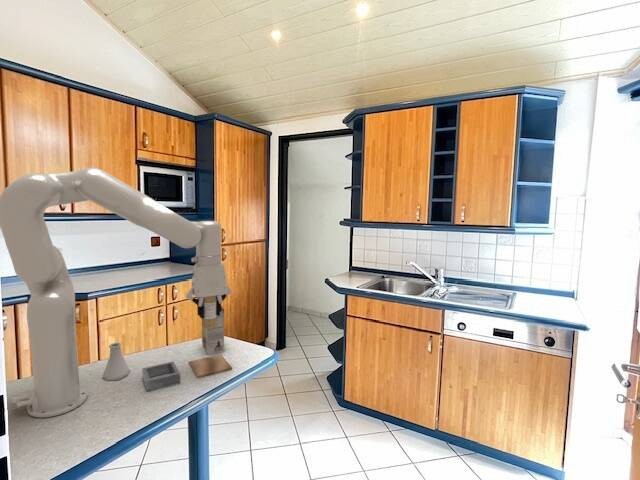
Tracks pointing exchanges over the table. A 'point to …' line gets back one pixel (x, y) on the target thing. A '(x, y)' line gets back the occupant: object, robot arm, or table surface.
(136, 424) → the table surface
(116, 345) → the flask
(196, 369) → the walnut board
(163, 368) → the steel collar holder
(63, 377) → the robot arm
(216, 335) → the coffee box
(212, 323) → the sprinkles bottle
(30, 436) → the table surface
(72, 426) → the table surface
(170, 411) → the table surface
